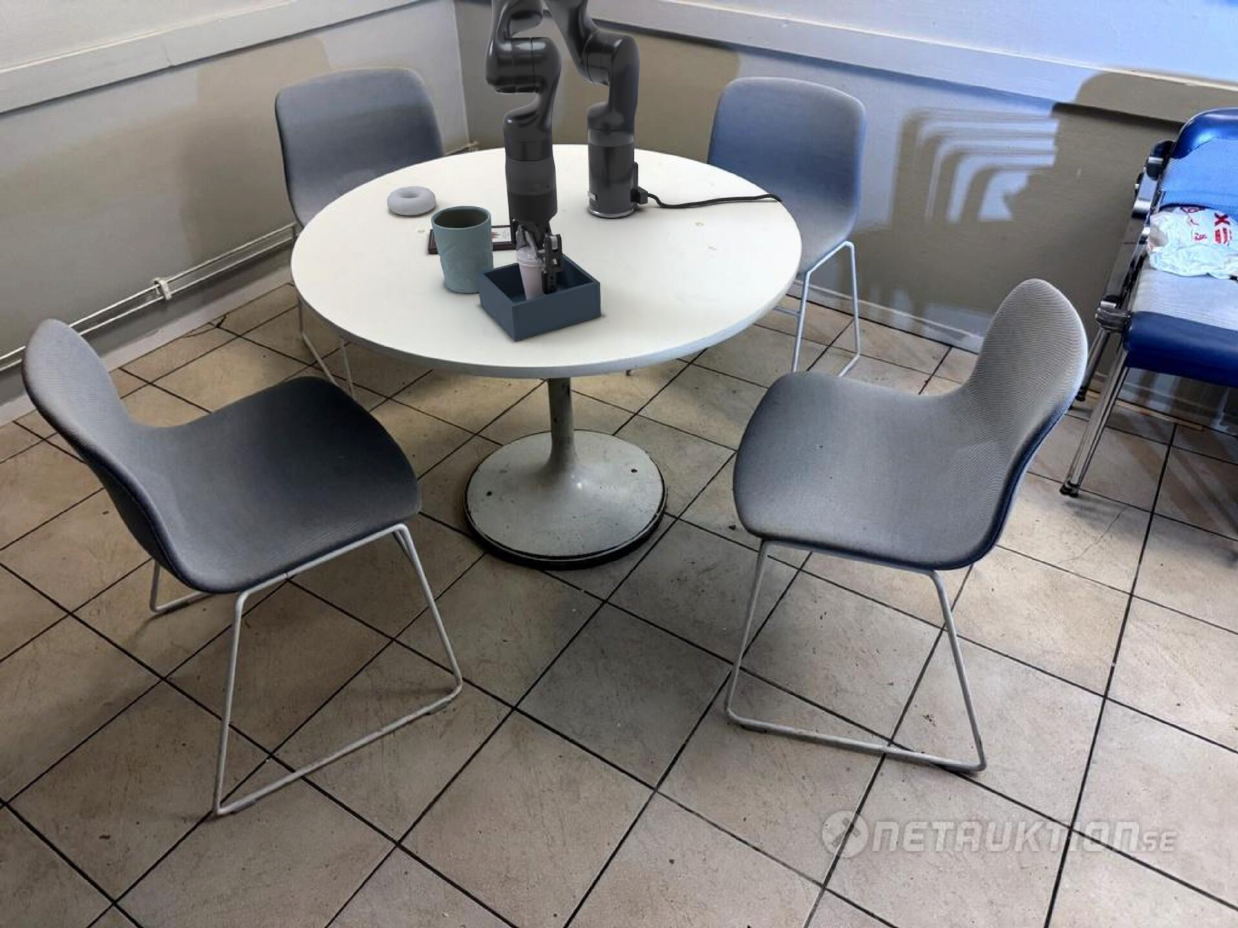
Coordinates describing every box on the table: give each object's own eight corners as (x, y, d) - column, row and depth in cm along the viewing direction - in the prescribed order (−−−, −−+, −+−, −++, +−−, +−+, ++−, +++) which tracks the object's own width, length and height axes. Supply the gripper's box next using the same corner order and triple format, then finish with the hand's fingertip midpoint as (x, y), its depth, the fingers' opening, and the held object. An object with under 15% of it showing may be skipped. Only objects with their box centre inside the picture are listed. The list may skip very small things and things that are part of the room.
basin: (562, 283, 147) (561, 251, 143) (601, 316, 137) (600, 282, 134) (480, 305, 140) (476, 272, 137) (515, 341, 131) (511, 306, 127)
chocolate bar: (430, 229, 162) (522, 224, 164) (430, 233, 163) (523, 228, 165) (427, 248, 155) (524, 243, 157) (428, 253, 156) (525, 248, 158)
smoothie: (529, 320, 135) (522, 238, 126) (514, 303, 140) (507, 223, 131) (565, 311, 138) (561, 230, 129) (549, 295, 142) (544, 215, 133)
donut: (439, 199, 177) (391, 200, 177) (437, 183, 175) (388, 184, 174) (435, 218, 170) (385, 218, 169) (432, 201, 168) (382, 202, 167)
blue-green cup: (472, 300, 142) (464, 233, 134) (428, 286, 146) (417, 220, 138) (509, 277, 148) (503, 212, 141) (465, 264, 153) (457, 200, 145)
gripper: (576, 194, 122) (579, 295, 132) (532, 165, 132) (539, 261, 142) (529, 204, 119) (537, 307, 129) (489, 173, 129) (498, 271, 139)
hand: (538, 282), depth 136 cm, fingers open, 7 cm apart
